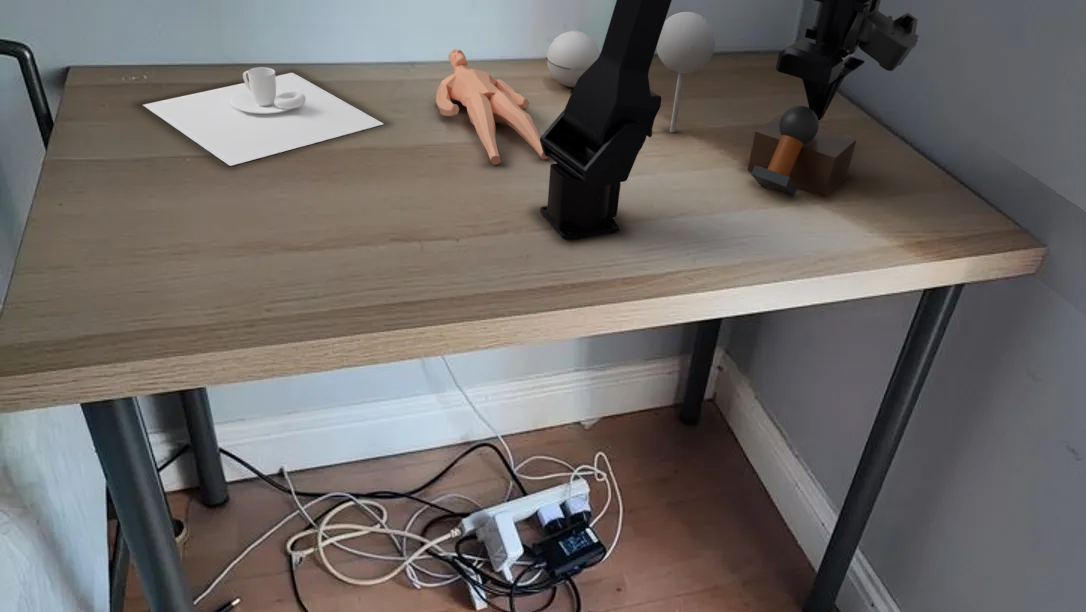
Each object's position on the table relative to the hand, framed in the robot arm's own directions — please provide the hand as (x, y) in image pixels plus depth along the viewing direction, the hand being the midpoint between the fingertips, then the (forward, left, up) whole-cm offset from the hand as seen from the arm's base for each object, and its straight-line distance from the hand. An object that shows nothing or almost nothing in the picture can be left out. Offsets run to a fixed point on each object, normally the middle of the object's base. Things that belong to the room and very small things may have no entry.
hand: (816, 118), depth 112 cm
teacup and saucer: (-58, +31, -7) cm, 66 cm away
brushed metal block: (-2, -1, -6) cm, 7 cm away
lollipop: (-11, +14, -7) cm, 19 cm away
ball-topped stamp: (-7, -4, -6) cm, 10 cm away
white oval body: (-17, +30, -7) cm, 35 cm away
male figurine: (-33, +23, -7) cm, 40 cm away
